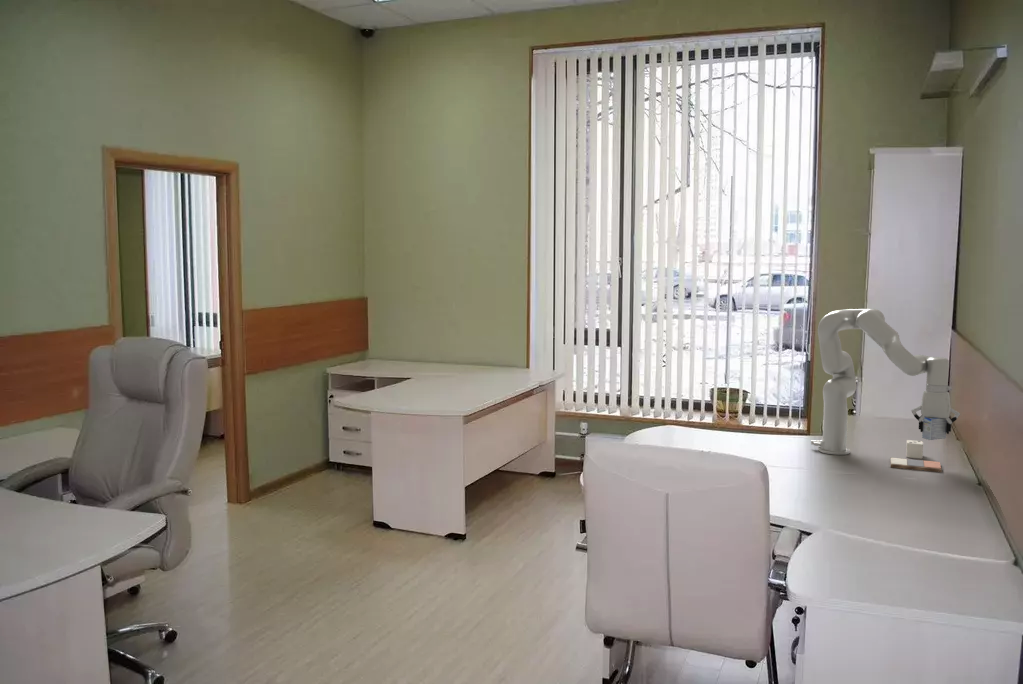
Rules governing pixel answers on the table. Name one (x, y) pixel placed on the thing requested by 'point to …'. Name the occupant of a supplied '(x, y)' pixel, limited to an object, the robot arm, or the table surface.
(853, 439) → the table surface
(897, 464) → the striped colour swatch board
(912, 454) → the die
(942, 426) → the medicine box
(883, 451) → the table surface
